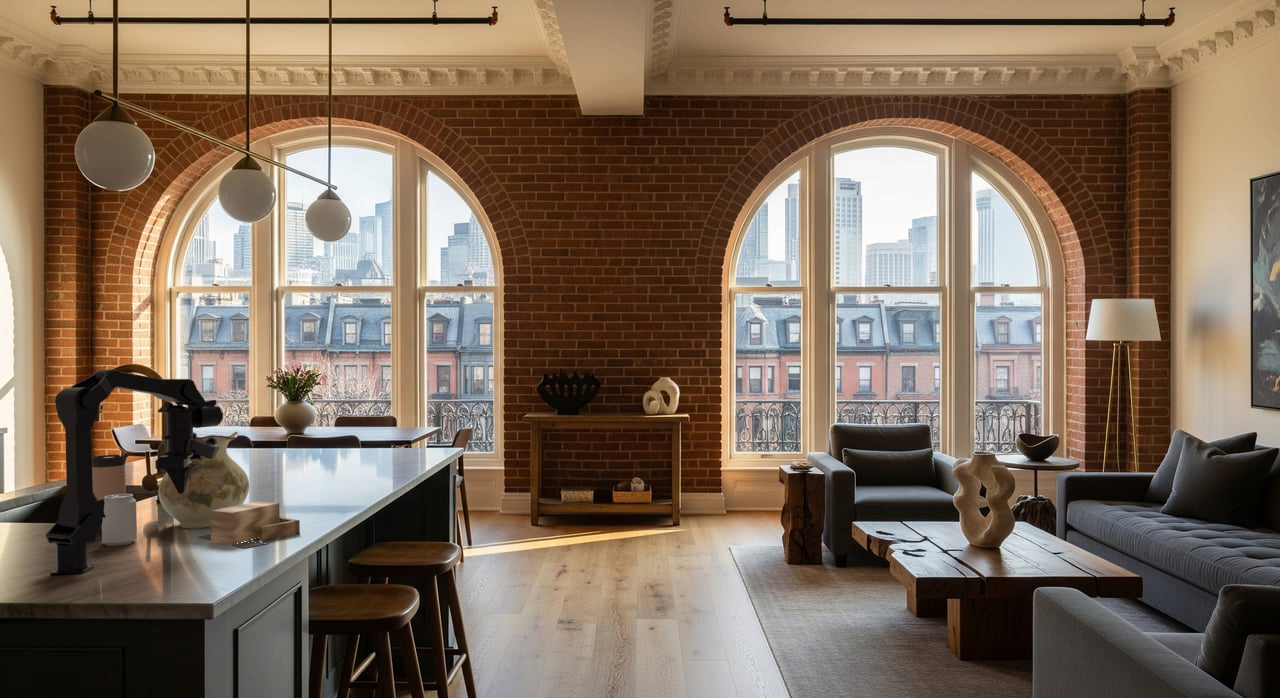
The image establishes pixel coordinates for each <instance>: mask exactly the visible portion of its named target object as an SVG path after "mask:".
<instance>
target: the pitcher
mask: <svg viewBox="0 0 1280 698" xmlns="http://www.w3.org/2000/svg"><path fill="white" fill-rule="evenodd" d="M211 437H212V438H215V439H217V444H219V450H218V451H217V454H216V457H215V458H213V459H208V458H205V457H204V459H202V460H199V459H189V460H191V463H197V465H195V466H194V467H193V468H192V469H191V470H190V473H189V476H188V480H187V484H186V488H185V492H184V493H183V494H179V493H178V491H177V489H176V488H175V486H174V484H173V482H172V480H171V479H170V477H169V475H168V474H167V472H166V470H164V469H160V470H161V472H162V474H163V477H162V478H161V480H160V482H159V486H158V498H159V502H160V504H161V506H162V508H163V509H164V511H166V513H167V514H168V515H170V517H172V519H175V520H176V521H177V522H179V525H180V527H182V528H184V529H203V528H204V527H208V528H211V516H210V511H211V510H216V509H221V508H226V507H231V506H236V505H241V504H245V503H244V502H245V501H246V499H247V497H248V494H249V492H250V482H249V481H250V480H249V477H248V475H247V473H246V472H245V470H244V469H243V468H242V467H241V466H240V465H239V464H238V463H237V462H235V460H233V458H232V457H230V456H229V453H228V452H227V447H228V445H229V444H230V442H231V441H234V440H236V439H237V438H238V437H239V431H234V432H232V434H231V435H230V436H226V435H217V434H214V435H213V434H210V435H206V436H203V437H200V438H198V439H200V440H205V441H206V440H208V439H209V438H211ZM165 452H167V439H166V440H165V438H163V440H161V442H160V443H159V446H158V448H157V455H156V456H157V459H158V458H159V457H161V456H164V455H165ZM204 529H205V528H204Z"/></svg>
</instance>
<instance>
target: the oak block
mask: <svg viewBox="0 0 1280 698" xmlns="http://www.w3.org/2000/svg"><path fill="white" fill-rule="evenodd" d="M280 515H281V514H280V502H273V501H272V502H271V501H270V502H269V501H260V500H256V501H252V502H251V501H250V502H246V503H243V504H241V505H236V506H231V507H226V508H221V509H216V510H211V511H210V516H211V527H210V534H211V540H210V543H213V542H214V543H216V544H224V545H230V544H231V545H230V546H232V545H233V544H237V543H241V542H244V541H247V542H248V540H251V539H255V538H258V537H259V527H261V526H266V525H272V524H277V523H280V517H281V516H280ZM255 540H256V539H255ZM251 541H252V540H251Z"/></svg>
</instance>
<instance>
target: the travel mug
mask: <svg viewBox="0 0 1280 698" xmlns="http://www.w3.org/2000/svg"><path fill="white" fill-rule="evenodd" d="M125 458H126V455H120V454H105V455H104V454H103V455H96V456H92V475H93V493H94V495H95V497H96V498H97V499H104V497H106V496H110V495H116V494H127V492H126V491H127V488H126V487H127V485H126V483H127V482H126V481H127V480H126V459H125ZM104 500H105V499H104ZM97 535H102V526H101V527H100V528H99V529H98V532H97Z"/></svg>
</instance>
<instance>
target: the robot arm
mask: <svg viewBox="0 0 1280 698" xmlns="http://www.w3.org/2000/svg"><path fill="white" fill-rule="evenodd" d="M114 389H119V390H124V391H125V390H126V391H132V392H136V393H137V392H138V393H142V394H143V393H144V394H150V395H152V396H154V397H156V398H157V399H160V400H162V401H165V402H164V403H163V405H162V406H161V407H160V408H159V409H157V412H158V413H161V414H166V434H165V435H163V437H164V438H163V439H165V440H166V439H167V452H165V455H164V456H161V457H159V458H158V457H157V458H156V460H155V461H154V462H155V463H154V465H155V466H154V468H155V470H161V469H164V470H166V472H167V474H168V475H169V477H170V479H171V480H172V482H173V484H174V486H175V488H176V489H177V491H178V493H179V494H183V493H184V492H185V488H186V484H187V480H188V476H189V473H190V470H191V469H192V468H193V467H194V466H195V465H197V463H191V460H189V459H199V460H202V459H204V457H205V458H208V459H213V458H215V457H216V454H217V451H218V450H219V444H217V439H215V438H212V437H211V438H209V439H208V440H206V441H205V440H200V439H199V438H198V435H197V433H196V432H194V428H195V429H200V428H201V429H202V428H208V427H217V426H219V425H220V424H221V423H222V421H223V417H224V415H223V414H224V413H223V411H222V408H221V407H220V405H218V404H217V399H207V400H205V398H204V397H203V395H202V394H201V393H200V391H199V390H198V387H197V385H196V383H195V381H194V380H192V379H190V378H163V379H162V378H157V377H151V376H145V375H140V374H135V373H130V372H126V371H121V370H120V371H119V370H118V369H113V368H112V369H99V370H98V371H96V372H94V373H93V374H92V375H90V376H88V377H87V378H84V379H83V380H81V381H79V382H76V383H75V384H73V385H72V386H70V387H65V388H63V389H61V390H60V391H59V393H57V394H55V395H56V396H55V399H54V403H55V410H56V413H57V418H58V419H59V421H60V423H61V424H62V426H63V427H64V429H65V430H64V431H65V432H64V433H65V438H64V439H65V470H66V471H65V474H66V475H65V476H66V477H65V478H66V479H65V480H66V482H65V483H66V495H65V497H64V499H63V501H62V502H61V504H60V506H59V512H58V519H57V521H56V522H55V523H54V524H53V525H52V527H51V528H50V529H49V531H47V533H45V537H46V539H47V542H48V543H49V544H55V546H56V547H55V549H56V552H55V553H56V555H55V556H56V569H54V570H52V571H50V572H49V575H50V576H52V575H53V576H54V575H66V574H67V575H69V574H81V573H85V572H87V571H88V570H90V569H91V568H93V567H94V566H95V563H89V560H88V559H89V557H88V555H89V554H88V550H89V549H88V544H90V543H94V542H95V541H96V539H97V535H98V534H97V532H98V529H99V528H100V527H101V526H102V522H103V518H105V517H106V516H105V514H104V504H105V502H104V499H97V498H96V497H95V495H94V493H93V475H92V457H93V444H92V443H93V439H92V427H93V426H94V424H95V421H96V420H97V418H98V416H99V411H100V405H101V403H102V402H104V401H105V400H106V399H107V398H109V397H110V395H111V394H112V392H113V390H114ZM173 403H174V404H173Z"/></svg>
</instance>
